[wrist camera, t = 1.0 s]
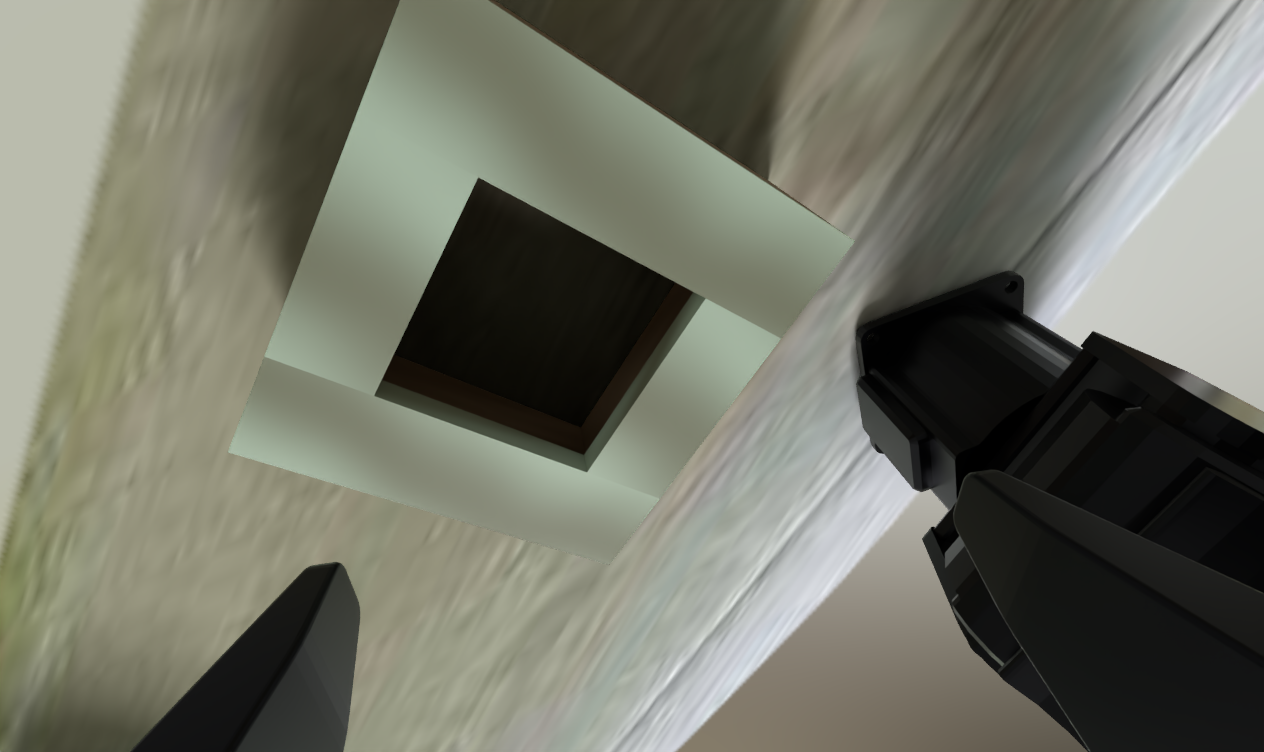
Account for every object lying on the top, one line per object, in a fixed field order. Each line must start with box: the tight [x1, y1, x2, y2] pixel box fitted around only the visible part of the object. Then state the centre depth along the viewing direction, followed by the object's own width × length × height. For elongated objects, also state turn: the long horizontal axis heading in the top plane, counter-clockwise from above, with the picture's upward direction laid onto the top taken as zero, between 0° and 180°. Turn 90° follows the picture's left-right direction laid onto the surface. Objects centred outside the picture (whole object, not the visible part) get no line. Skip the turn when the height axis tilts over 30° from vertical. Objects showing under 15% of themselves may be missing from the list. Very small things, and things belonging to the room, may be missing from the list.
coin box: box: [228, 0, 855, 565], centre depth 18 cm, size 12×11×6 cm
